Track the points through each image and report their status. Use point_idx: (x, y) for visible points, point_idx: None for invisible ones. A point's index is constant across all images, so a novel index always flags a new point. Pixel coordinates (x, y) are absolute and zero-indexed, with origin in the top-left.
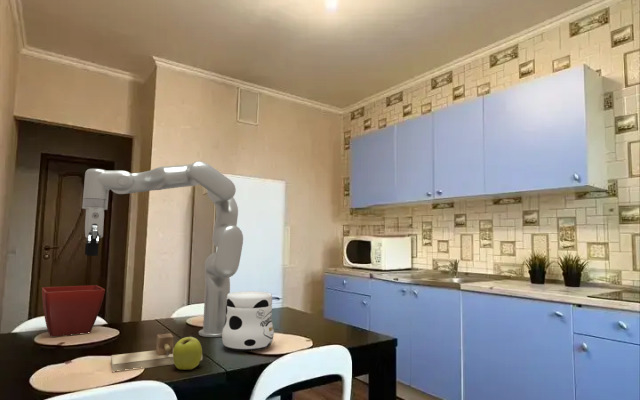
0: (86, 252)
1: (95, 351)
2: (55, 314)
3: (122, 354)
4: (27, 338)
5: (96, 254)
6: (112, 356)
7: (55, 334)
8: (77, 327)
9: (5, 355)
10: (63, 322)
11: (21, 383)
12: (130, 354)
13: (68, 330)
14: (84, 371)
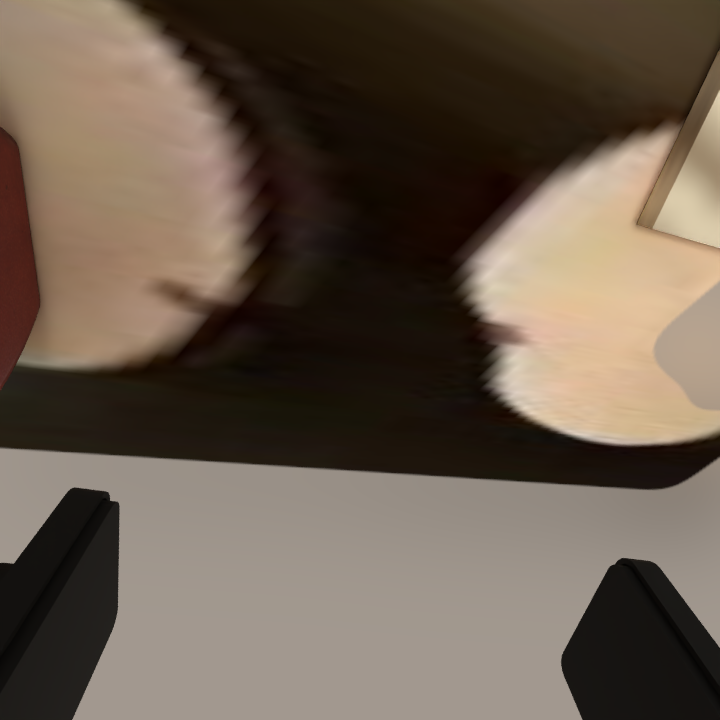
0: (100, 640)
1: (429, 222)
2: (3, 352)
3: (678, 188)
4: None
5: (653, 584)
6: (670, 230)
7: (36, 301)
8: (14, 211)
9: (271, 465)
10: (14, 292)
11: (618, 460)
12: (707, 162)
13: (25, 251)
14: (658, 320)
